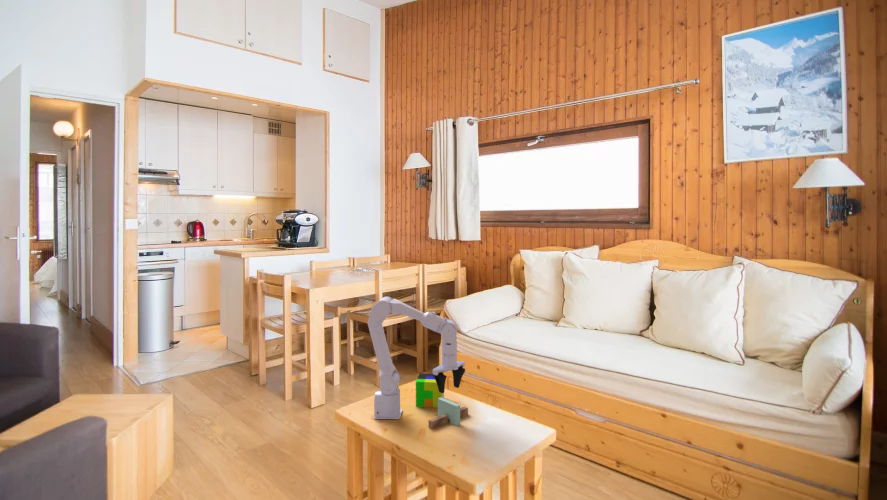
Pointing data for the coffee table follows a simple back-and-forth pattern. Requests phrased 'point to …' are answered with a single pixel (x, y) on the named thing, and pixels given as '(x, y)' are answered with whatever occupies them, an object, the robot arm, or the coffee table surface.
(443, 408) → the teal plate
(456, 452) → the coffee table surface
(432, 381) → the puzzle toy
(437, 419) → the walnut rail
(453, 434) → the coffee table surface
